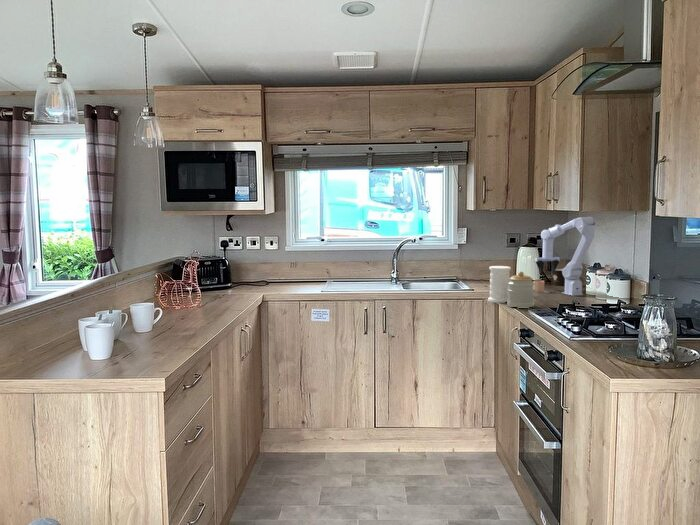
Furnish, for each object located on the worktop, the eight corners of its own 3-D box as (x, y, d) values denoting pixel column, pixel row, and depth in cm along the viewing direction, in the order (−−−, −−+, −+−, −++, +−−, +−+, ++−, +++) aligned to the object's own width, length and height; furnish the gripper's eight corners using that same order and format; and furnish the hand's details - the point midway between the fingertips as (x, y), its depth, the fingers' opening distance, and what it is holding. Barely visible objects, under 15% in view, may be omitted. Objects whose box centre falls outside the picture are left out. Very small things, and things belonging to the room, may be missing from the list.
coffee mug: (568, 286, 331) (569, 270, 330) (554, 287, 332) (555, 270, 331) (561, 284, 343) (562, 268, 342) (548, 284, 343) (548, 268, 342)
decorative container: (507, 298, 294) (508, 265, 292) (513, 302, 282) (513, 268, 280) (485, 298, 294) (486, 265, 292) (490, 302, 283) (491, 268, 281)
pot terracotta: (545, 291, 312) (546, 281, 311) (540, 292, 309) (540, 282, 308) (537, 290, 316) (537, 280, 316) (531, 291, 313) (531, 281, 312)
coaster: (551, 293, 308) (551, 292, 308) (534, 294, 307) (534, 293, 307) (542, 290, 318) (542, 289, 318) (526, 291, 317) (526, 290, 316)
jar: (507, 308, 267) (508, 273, 265) (505, 303, 280) (506, 269, 278) (535, 309, 265) (536, 273, 263) (532, 304, 277) (533, 270, 275)
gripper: (555, 249, 323) (554, 272, 325) (532, 250, 321) (532, 272, 322) (562, 250, 317) (561, 273, 318) (538, 251, 314) (538, 274, 316)
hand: (547, 273), depth 320 cm, fingers open, 7 cm apart
